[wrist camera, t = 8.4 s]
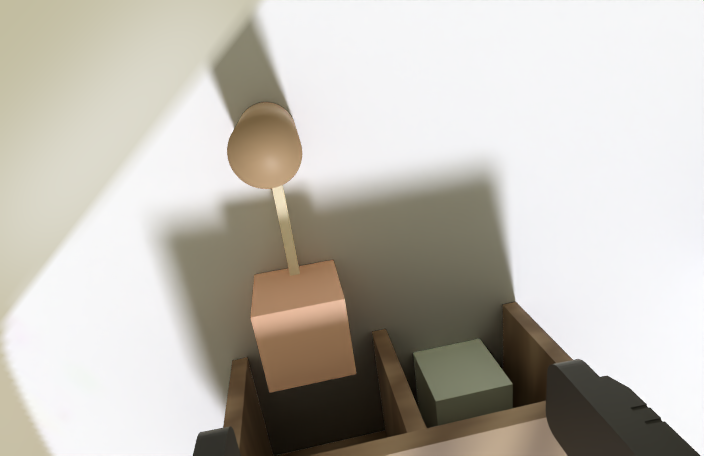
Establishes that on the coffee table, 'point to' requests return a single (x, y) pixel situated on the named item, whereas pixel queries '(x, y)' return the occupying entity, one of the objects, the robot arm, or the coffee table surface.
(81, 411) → the coffee table surface
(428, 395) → the shelf block
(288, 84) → the coffee table surface
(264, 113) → the tethered block
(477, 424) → the shelf
